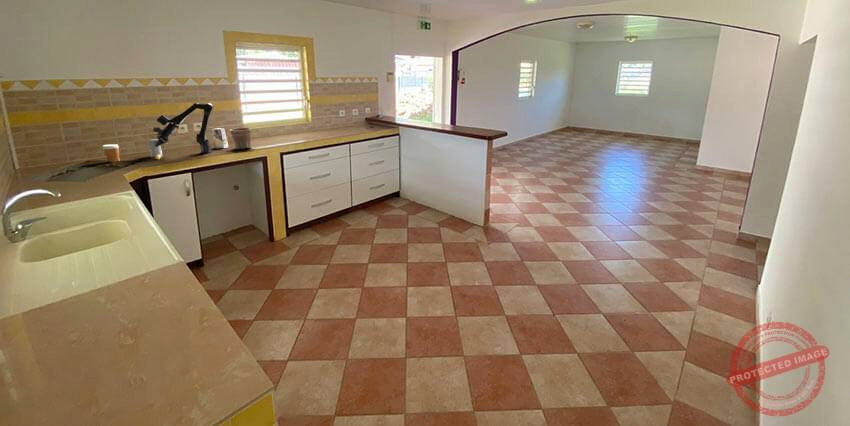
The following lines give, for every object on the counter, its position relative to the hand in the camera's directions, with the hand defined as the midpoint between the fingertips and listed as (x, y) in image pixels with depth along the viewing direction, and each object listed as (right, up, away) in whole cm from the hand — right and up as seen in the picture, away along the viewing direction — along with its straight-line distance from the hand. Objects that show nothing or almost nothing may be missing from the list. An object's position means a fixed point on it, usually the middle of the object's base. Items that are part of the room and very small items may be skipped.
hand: (155, 145), depth 308 cm
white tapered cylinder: (0, -8, +2) cm, 8 cm away
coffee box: (+32, +4, +38) cm, 49 cm away
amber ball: (+7, -11, -7) cm, 15 cm away
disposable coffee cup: (-19, -14, -15) cm, 29 cm away
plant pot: (+52, +4, +35) cm, 62 cm away
